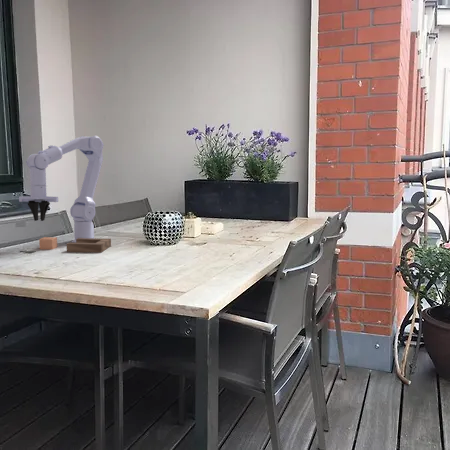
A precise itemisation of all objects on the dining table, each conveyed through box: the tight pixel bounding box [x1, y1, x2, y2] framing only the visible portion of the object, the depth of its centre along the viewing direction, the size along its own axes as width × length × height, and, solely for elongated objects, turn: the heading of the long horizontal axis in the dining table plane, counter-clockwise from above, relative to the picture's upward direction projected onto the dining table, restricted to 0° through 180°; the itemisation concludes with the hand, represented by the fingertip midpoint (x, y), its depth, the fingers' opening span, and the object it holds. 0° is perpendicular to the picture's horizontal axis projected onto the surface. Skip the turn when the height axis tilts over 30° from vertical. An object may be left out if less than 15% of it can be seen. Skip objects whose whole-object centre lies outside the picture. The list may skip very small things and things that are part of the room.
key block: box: [38, 236, 58, 250], centre depth 197 cm, size 5×5×4 cm
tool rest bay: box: [66, 237, 112, 254], centre depth 197 cm, size 14×13×3 cm
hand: (39, 220), depth 198 cm, fingers closed
